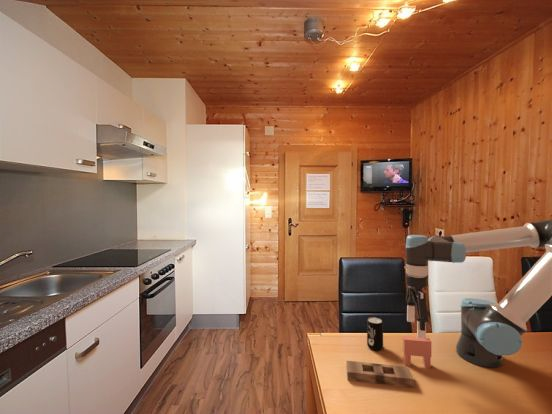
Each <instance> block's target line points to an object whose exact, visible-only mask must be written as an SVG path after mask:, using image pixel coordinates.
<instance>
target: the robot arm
mask: <svg viewBox="0 0 552 414" xmlns="http://www.w3.org/2000/svg"><path fill="white" fill-rule="evenodd" d="M405 241H406V242H405V266H404V269H405V285H407V290H406V295H405V303H406V305H407V306H406V321H407V322H408V323H416V324H417V325H416V327H417V328H416V331H417V332H416V337H417V338H422V339H426V338H427V323H429V321H430V320H429V314H428V307H427V306H428V305H427V301H426V298H427V297H426V296H427V295H426V293H425V292H424V291H423V289H424V288H426V287H428V275H429V271H428V270H429V269H428V268H429V266H428V262H443V263H453V264H455V263H457V264H458V263H461V264H463V263H464V262H465V260H466V257H467V253H473V252H474V253H476V252H483V251H492V250H500V249H501V250H502V249H512V248H521V247H530V248H532V249H538V248H540V249H541V248H545V253H544V254H542V256H541V257H540V258H539V259H538V260H537V261H536V262H535V263H534V264H533V265H532V267H531V268H530V269H529V270H528V271H527V272H526V273H525V274H524V275H523V276H522V277H521V279H519V280H518V281H517V283H515V285H514V286H513V287H512V288H511V289H510V290H509V292H507V294H506V295H505V296H504V297H503V298H502V299H501V300H500V301H499V302H498V303H496V302H494V301H490V300H486V299H480V298H471V297H470V298H463V299H462V300H461V303H460V304H461V305H460V308H461V309H460V319H461V321H460V322H461V325H460V328H461V329H460V332H461V333H460V336H459V338H458V340H457V342H456V345H455V347H456V349H455V350H456V351H455V352H456V353H457V355H458V356H459V357H460V358H462V359H463V360H465V361H466V362H469V363H471V364H473V365H478V366H480V367H485V368H499V367H501V366H503V363H504V360H503V356H505V357H507V356H512V355H514V354H516V353H518V352H519V351H520V350H521V348H522V347H523V339H522V336H523V335H524V334H525V333H526V332H527V330H528V328H527V325H526V323H527V322H528V321H529V320H530V319H531V318H532V316H533V315H534V314H535V313H536V312H538V310H539V309H541V308H542V306H543V305H544V304H545V303H546V302H547V301H548V300H549V299H550V298H551V297H552V218H551V219H549V218H548V219H545V220H539V221H533V222H526V223H525V224H523V226H517V227H516V226H514V227H508V228H500V229H499V228H498V229H493V230H483V231H477V232H476V231H475V232H470V233H469V232H467V233H462V234H461V233H460V234H452V235H447V236H446V235H444V236H440V235H434V236H431V237H429V238H428V236H426V235H424V234H423V235H422V234H409V235H407V237H406V239H405ZM415 310H416V311H415ZM415 313H416V314H417V318H416V317H415V316H416V315H415ZM415 318H416V319H415ZM415 320H416V322H415Z"/></svg>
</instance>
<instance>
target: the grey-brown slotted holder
mask: <svg viewBox="0 0 552 414" xmlns="http://www.w3.org/2000/svg"><path fill="white" fill-rule="evenodd" d="M409 367H410V366H406V365H405V366H404V365H394V364H393V365H392V364H386V363H385V364H382V363H373V362H364V361H355V360H354V361H353V360H346V377H347V381H350V382H360V383H368V384H369V383H370V384H375V385H377V384H379V385H387V386H396V387H404V388H415V379H414V376H413V374H412V372H411V370H410V368H409Z"/></svg>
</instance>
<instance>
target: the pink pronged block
mask: <svg viewBox="0 0 552 414" xmlns="http://www.w3.org/2000/svg"><path fill="white" fill-rule="evenodd" d="M402 352H403V363H404V365H405V366H409V367H410V366H412V356H413V357H422V364H423V366H424V367H425V368H431V366H432V364H431V363H432V361H431V358H432V341H431V339H430V338H428V337H426V339H422V338H417V336H402Z"/></svg>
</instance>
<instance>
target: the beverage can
mask: <svg viewBox="0 0 552 414" xmlns="http://www.w3.org/2000/svg"><path fill="white" fill-rule="evenodd" d="M366 345H367V347H368V348H369V349H370V350H371V351H377V352H378V351H379V352H380V351H381V350H382V349H383V348H384V323H383V320H382V319H381V318H378V317H375V316H373V317H368V318H367V322H366Z"/></svg>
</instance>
